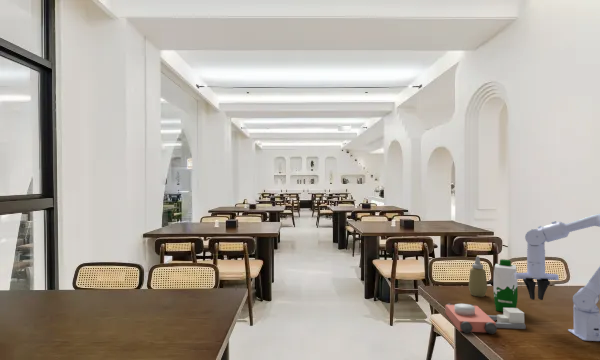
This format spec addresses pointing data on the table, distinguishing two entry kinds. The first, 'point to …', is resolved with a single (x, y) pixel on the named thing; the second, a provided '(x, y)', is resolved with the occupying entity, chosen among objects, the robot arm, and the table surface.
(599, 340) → the robot arm
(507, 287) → the milk carton
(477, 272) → the squeeze bottle
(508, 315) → the white block
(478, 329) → the forklift
